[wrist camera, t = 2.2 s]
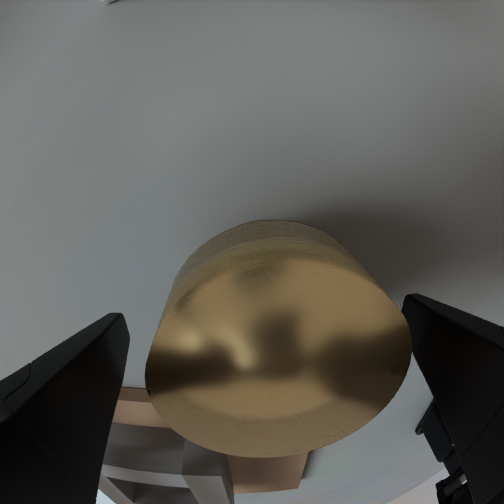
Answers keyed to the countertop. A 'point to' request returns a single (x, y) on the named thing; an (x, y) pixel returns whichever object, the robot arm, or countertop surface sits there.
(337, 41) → the countertop surface
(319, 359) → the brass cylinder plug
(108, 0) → the syrup box
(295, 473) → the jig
